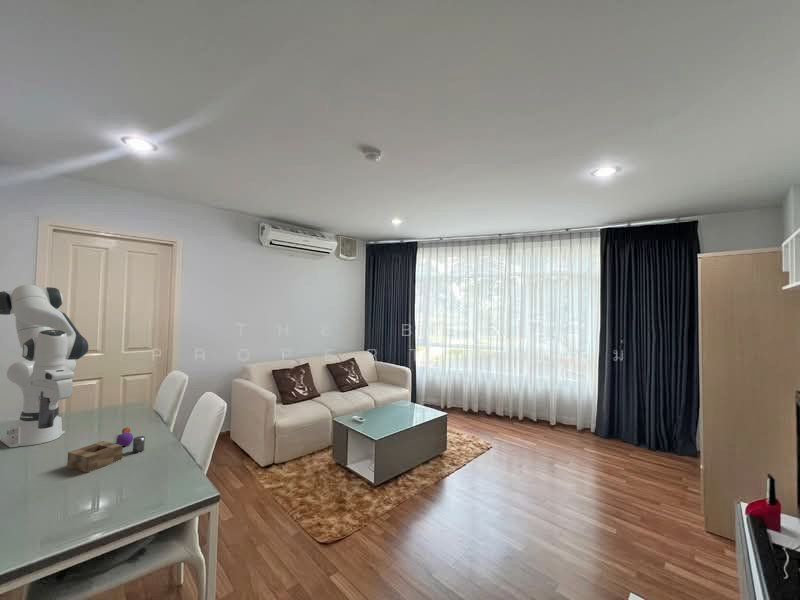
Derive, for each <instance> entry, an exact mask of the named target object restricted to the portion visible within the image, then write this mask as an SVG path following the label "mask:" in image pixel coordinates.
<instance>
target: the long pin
mask: <svg viewBox="0 0 800 600" xmlns="http://www.w3.org/2000/svg"><path fill="white" fill-rule="evenodd" d="M49 400H50V398H45V397H43V391H41V395H40V407H39V420H38V429H44V428H49V427H52V426H53V422H54V409H52V410H49V409H47V408H48V407H47V406H48V405H49V404H50V401H49Z"/></svg>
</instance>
